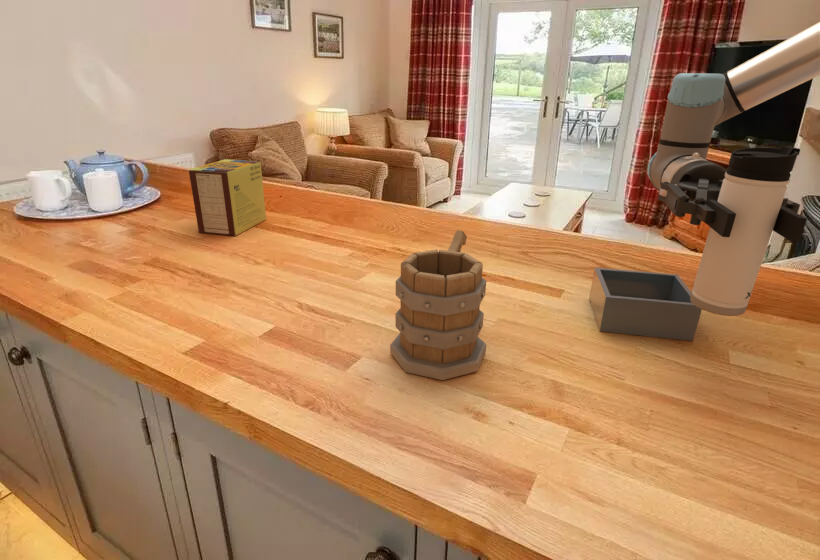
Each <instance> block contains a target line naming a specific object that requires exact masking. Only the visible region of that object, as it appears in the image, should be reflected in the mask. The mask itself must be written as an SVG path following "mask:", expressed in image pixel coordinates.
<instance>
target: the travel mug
mask: <svg viewBox="0 0 820 560" xmlns="http://www.w3.org/2000/svg"><path fill="white" fill-rule="evenodd" d="M800 153H801V148H798V147H793V146H787V145H786V146H784V145H783V146H781V147H745V148H738V149H734V150H733V151H732V152H731V154H730V157H729V160H728V166H727V167H726V172H725V179H724V180H723V183H722V186H721V190H720V194H719V197H718V201H717V202H719V203H720V204H722V205H723V206H725V207H726V208H728V209H729V210H731V211H733V212H734V213H736V217H735V220H734V224H733V227H732V231H731V234H730V237H722V236H721V235H719V234H718V233H717V232H716V231H714V230H713V229H712V228H711V227H709V230H708V233H707V237H706V240H705V244H704V246H703V250H702V254H701V257H700V261H699V265H698V268H697V272H696V275H695V278H694V282H693V286H692V287H693V288H692V289H691V292H692V293H691V296H690V300H691V302H692V303H693V304H694V305H695V306H696V307H698V308H700V309H702V311H704V312H706V313H710V314H713V315H717V316H724V317H738V316H741V315H744V314H745V313H746V311H747V309H748V306H749V301H750V299H751V297H752V294H753V291H754V287H755V284H756V282H757V278H758V275H759V273H760V269H761V266H762V263H763V261H764V259H765V255H766V252H767V249H768V247H769V243H770V240H771V237H772V234H773V232H774V231H773V228H774V225H775V222H776V219H777V216H778V213H779V210H780V207H781V204H782V202H783V199H784V198H785V196H786V193H787V189H788V185H789V183H790V178H791V176H792V174H791V172H792V171H793V169H794V167H795V164H796V161H797V157H798V156H799V155H800Z"/></svg>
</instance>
